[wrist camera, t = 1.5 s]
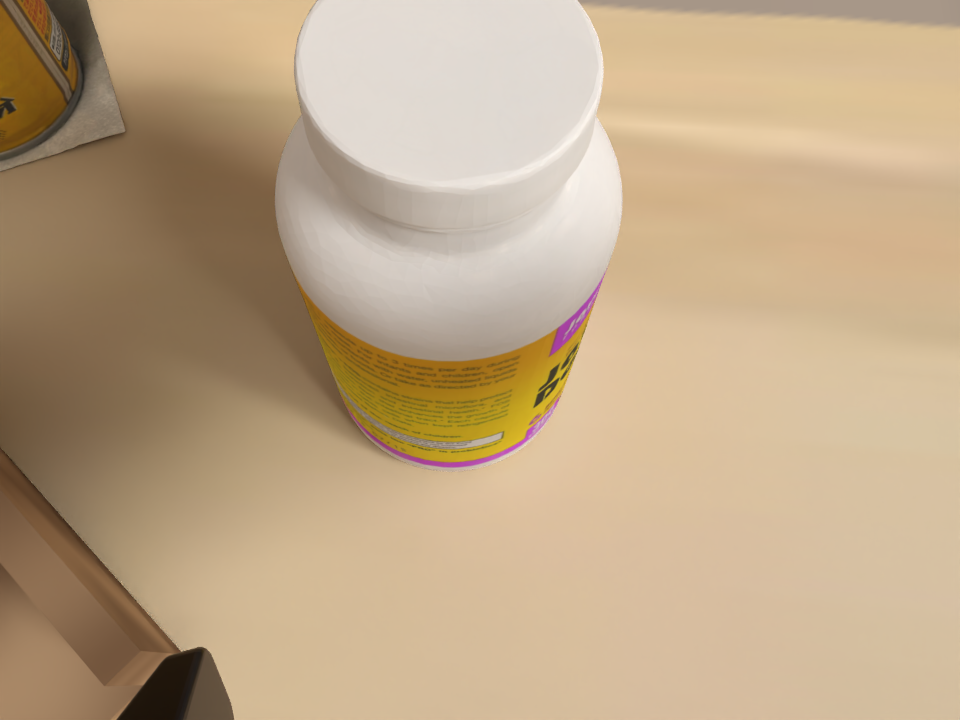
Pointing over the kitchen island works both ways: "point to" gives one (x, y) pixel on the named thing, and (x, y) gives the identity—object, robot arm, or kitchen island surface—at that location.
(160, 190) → the kitchen island surface
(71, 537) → the walnut caddy
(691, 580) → the kitchen island surface
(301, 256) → the supplement bottle
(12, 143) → the condiment
